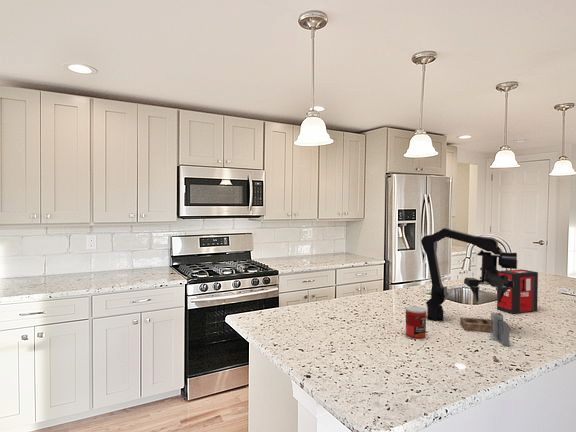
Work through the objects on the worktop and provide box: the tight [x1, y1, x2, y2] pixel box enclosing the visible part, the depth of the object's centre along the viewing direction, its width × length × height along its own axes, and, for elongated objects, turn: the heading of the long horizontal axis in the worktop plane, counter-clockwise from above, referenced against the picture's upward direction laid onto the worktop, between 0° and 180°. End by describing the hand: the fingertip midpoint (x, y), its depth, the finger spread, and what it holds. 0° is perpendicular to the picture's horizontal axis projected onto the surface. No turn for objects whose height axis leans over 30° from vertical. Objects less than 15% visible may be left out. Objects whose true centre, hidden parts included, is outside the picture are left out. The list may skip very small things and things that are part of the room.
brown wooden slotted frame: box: [459, 317, 491, 333], centre depth 156 cm, size 12×9×3 cm
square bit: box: [489, 312, 504, 341], centre depth 144 cm, size 4×4×10 cm
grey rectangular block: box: [497, 320, 510, 347], centre depth 138 cm, size 2×5×8 cm, turn 166°
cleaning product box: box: [496, 268, 539, 316], centre depth 183 cm, size 16×9×20 cm, turn 108°
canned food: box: [405, 305, 427, 340], centre depth 147 cm, size 8×8×11 cm
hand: (487, 302), depth 157 cm, fingers open, 9 cm apart
